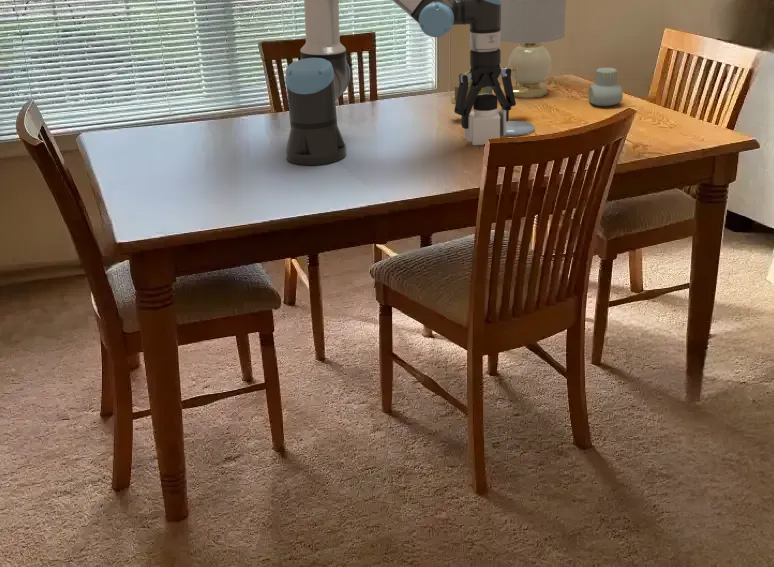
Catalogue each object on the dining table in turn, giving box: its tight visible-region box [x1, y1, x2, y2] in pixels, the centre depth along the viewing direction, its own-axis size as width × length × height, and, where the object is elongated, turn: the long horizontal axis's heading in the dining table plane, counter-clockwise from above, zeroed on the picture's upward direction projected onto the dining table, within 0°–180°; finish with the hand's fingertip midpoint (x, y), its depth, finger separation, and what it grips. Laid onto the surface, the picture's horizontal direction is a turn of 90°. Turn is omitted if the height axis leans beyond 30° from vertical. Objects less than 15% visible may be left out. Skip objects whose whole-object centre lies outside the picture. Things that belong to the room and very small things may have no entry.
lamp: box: [500, 0, 567, 99], centre depth 257 cm, size 20×20×35 cm
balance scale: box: [450, 66, 528, 105], centre depth 237 cm, size 21×6×15 cm, turn 84°
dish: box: [501, 120, 536, 137], centre depth 230 cm, size 12×12×1 cm
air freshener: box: [587, 67, 624, 107], centre depth 247 cm, size 11×8×10 cm
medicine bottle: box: [469, 93, 502, 146], centre depth 220 cm, size 7×7×12 cm
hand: (485, 137), depth 222 cm, fingers closed on medicine bottle, 9 cm apart
